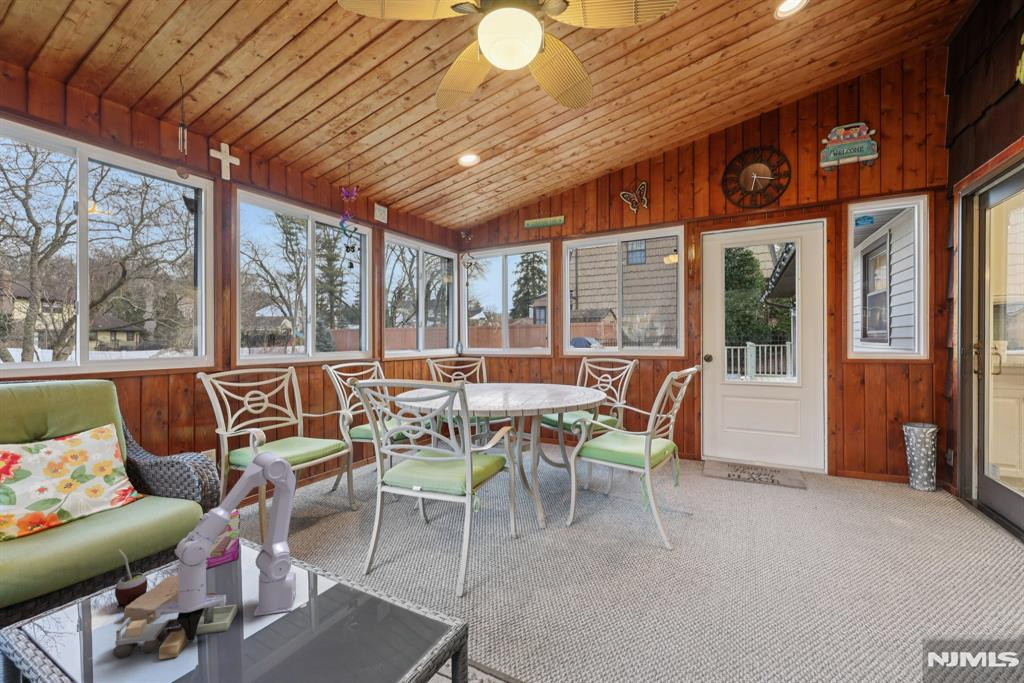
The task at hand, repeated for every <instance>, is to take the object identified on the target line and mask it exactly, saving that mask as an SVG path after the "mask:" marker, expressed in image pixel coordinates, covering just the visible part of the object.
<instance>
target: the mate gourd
mask: <svg viewBox="0 0 1024 683" xmlns="http://www.w3.org/2000/svg"><path fill="white" fill-rule="evenodd" d="M118 552H119V553H120V555H121V556H122V557H123V562H124V563H125V567H126V572H127V575H125V576H123V577H121V578H120V579H119V580H118V581H117V583H116V585H115V587H114V597H115V599H116V602H117V609H122V608H125V607H126V606H127V605H129V604H130V603H131V602H133V601H134V600H135V599H137V598H139V597H140V596H142V595H143V594H145V593H146V592H148V591H147V589H148V579H147V576H146V575H145V574H144V573H143V572H133V573H131V571H130V566H129V562H128V561H129V560H128V557H127V555H126V554H125V553H124V552H123V550H121V549H118Z"/></svg>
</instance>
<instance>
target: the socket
mask: <svg viewBox="0 0 1024 683" xmlns="http://www.w3.org/2000/svg"><path fill="white" fill-rule="evenodd" d="M164 628H166V629H167V635H166V637H168V636H169V634H170V633H171V632H177V631H183V627H182V626H181V625H180V624H179V623H178V621H177V617H175V618H169V619H167V620H166V622H165V627H164Z"/></svg>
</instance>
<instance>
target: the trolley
mask: <svg viewBox="0 0 1024 683" xmlns="http://www.w3.org/2000/svg"><path fill="white" fill-rule="evenodd" d="M165 623H166V622H156V623H151V624H147V620H139V621H132V622H131V617H130V618H127V619H126V620H125V621H124V620H123V622H122V623H121V625H119V627H118V628H117V629H116V630H115V636H116V637H115V639H116V640H115V643H114V644H115V648H113V651H112V655H113V657H114V658H115V659H119V660H120V659H121V660H122V659H125V658H126V657H128V656H129V654H130V653H131V652H132V651H133V649H134V648H133V647H135V646H136V645H138V643H143V644H142V645H141V646H140V651H141V653H142V654H144V655H148V656H149V655H152V654H154V653H155V652H156V651H157V649H159V648H160V646H161V643H163V642H164V641H165V638H167V636H166V635H167V629H166V628H164V627H165ZM124 628H125V630H124V631H123V629H124ZM122 631H123V632H122ZM162 641H163V642H162Z"/></svg>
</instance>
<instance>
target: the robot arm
mask: <svg viewBox="0 0 1024 683" xmlns="http://www.w3.org/2000/svg"><path fill="white" fill-rule="evenodd" d="M267 480H268V481H270V482H271V484H272V485H274V490H273V497H272V502H271V508H270V515H269V521H268V527H267V534H266V540H265V541H264V542H263V543H262V544H261V547H260V550H259V552H258V554H257V556H256V557H255V567H257V569H258V570H259V575H258V604H257V606H256V608H255V611H254V612H253V616H254V617H257V616H265V615H273V614H278V613H286V612H291V611H292V609H293V606H294V604H295V601H296V597H297V592H296V591H297V574H296V572H293V571H292V572H291V568H292V561H291V559H290V558H291V557H290V554H291V551H290V548H289V544H288V542H287V540H288V536H289V535H288V534H289V528H290V523H291V516H292V508H293V503H294V497H295V489H296V484H297V478H296V475H295V474H294V472H293V470H292V464H291V463H290V462H288V461H287V460H286V459H285V458H282V457H279V456H276V455H275V454H273V453H272V452H269V451H263V452H260V453H258V454H257V455H255V457H254V458H253V459H252V461H251V462H250V463H249V464H248V465H247V466H246V468H245V470H244V472H243V474H242V475H241V476H240V478H238V480H237V482H236V483H235V484H234V486H233V487H232V489H231V490H230V491H229V492H228V494H227V495H226V496H225V497H224V499H223V501H221V503H220V505H219V506H217V507H213V508H211V509H209V510H208V512H207V513H206V512H205V513H203V515H202V516H201V517H202V518H203V519H202V520H201V522H200V523H199V522H198V524H197V525H196V526H195V528H194V529H193V530H192V531H189V533H187V536H186V537H184V538H182V539H181V540H180V541H179V542H178V544H177V546H176V549H174V554H175V555H176V557H177V558H179V559H178V570H177V575H178V601H174V602H171V603H168V604H164V605H159V606H158V608H157V609H156V617H160V618H161V617H162V616H165V615H170V614H172V615H173V614H176V613H177V614H178V615H177V617H176V618H177V621H178V623H179V624H180V625H181V626H182V627H183V629H184V631H185V633H186V636H187V642H188V641H193V640H194V639H195V638H196V636H197V635H196V631H197V627H198V623H199V620H200V618H201V615H202V613H203V611H204V609H205V608H208V607H219V606H220V607H223V606H226V603H227V594H222V595H218V594H217V595H206V594H207V593H206V592H207V588H206V587H207V584H206V583H207V569H206V557H208V555H209V553H210V546H211V545H212V543H213V542H214V541H215V539H216V538H217V537H218V536H219V534H220V533H221V532H222V531H223V529H224V528H225V527H226V526H227V524H228V523H229V522H230V514H231V512H232V511H233V510H234V509H237V507H238V506H239V504H241V502H242V501H243V500H244V499H245V498H246V497H247V496H248V494H249V493H250V492H251V491H252V490H253V489H254V488H257V487H260V486H264V485H265V486H266V485H267V484H268V482H267ZM183 629H182V630H183Z"/></svg>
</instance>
